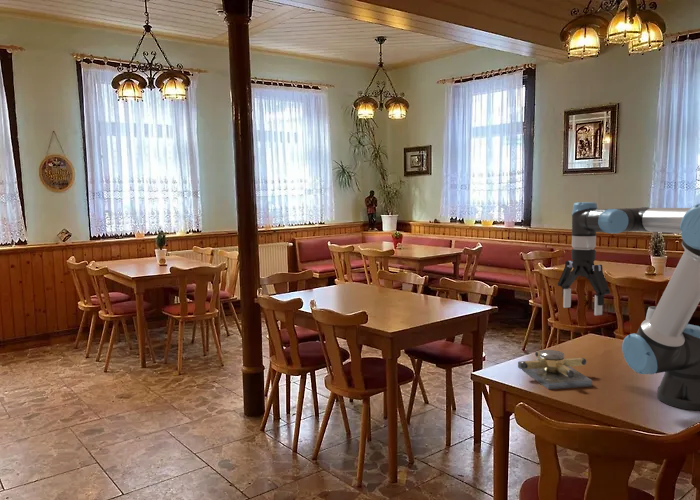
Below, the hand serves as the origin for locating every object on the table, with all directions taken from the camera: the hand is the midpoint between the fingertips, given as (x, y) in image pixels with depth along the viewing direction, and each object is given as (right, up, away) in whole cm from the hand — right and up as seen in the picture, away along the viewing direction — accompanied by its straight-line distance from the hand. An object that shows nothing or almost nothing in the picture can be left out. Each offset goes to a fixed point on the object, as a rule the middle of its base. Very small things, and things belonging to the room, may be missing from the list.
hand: (582, 311), depth 194 cm
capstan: (-10, -20, 0) cm, 22 cm away
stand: (-10, -22, +1) cm, 24 cm away
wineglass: (+30, -21, +10) cm, 37 cm away
